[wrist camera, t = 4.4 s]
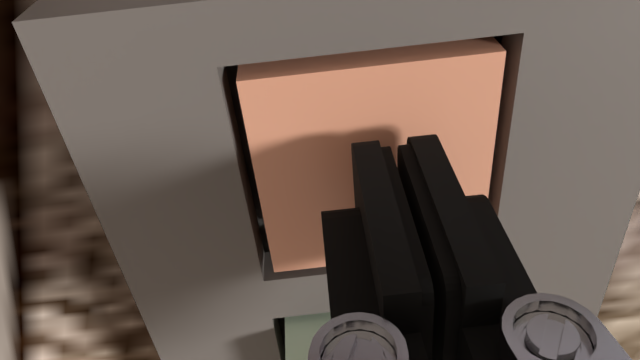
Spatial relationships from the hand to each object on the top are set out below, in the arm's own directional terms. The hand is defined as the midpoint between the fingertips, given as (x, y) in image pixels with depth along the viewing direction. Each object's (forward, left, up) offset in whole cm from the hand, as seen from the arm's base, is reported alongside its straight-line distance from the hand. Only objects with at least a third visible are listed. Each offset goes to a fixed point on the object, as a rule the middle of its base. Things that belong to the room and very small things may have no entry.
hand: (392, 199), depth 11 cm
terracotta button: (0, 0, -3) cm, 3 cm away
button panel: (-7, 0, -4) cm, 8 cm away
